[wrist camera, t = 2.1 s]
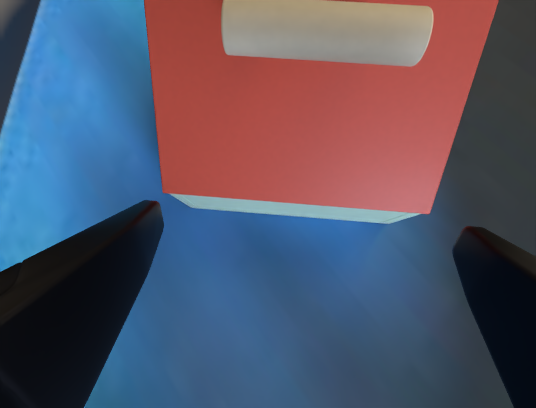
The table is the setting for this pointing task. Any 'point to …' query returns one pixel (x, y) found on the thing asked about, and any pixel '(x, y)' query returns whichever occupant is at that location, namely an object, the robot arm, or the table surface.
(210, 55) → the lid
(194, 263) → the table surface
